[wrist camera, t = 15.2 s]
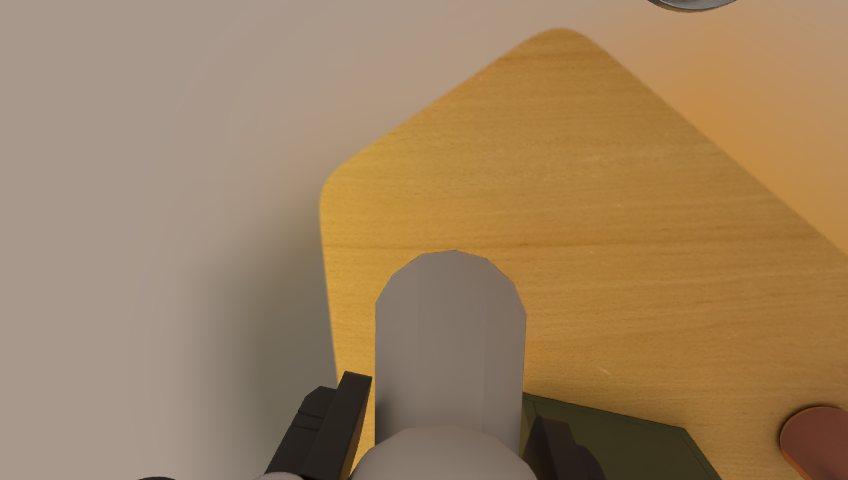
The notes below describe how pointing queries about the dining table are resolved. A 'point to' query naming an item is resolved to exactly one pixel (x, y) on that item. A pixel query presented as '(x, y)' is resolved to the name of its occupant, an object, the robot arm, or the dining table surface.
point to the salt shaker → (448, 373)
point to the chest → (623, 442)
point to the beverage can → (817, 443)
